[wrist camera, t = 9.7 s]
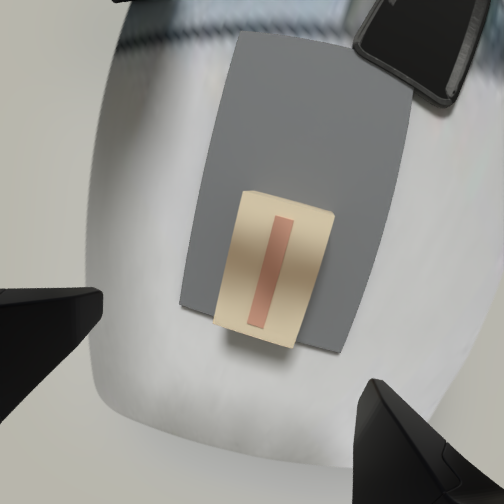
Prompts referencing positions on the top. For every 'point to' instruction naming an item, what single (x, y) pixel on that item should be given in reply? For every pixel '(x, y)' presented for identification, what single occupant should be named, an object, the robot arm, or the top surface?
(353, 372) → the top surface
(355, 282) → the mat
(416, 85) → the phone
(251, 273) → the beige wooden block
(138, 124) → the top surface
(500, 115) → the top surface
